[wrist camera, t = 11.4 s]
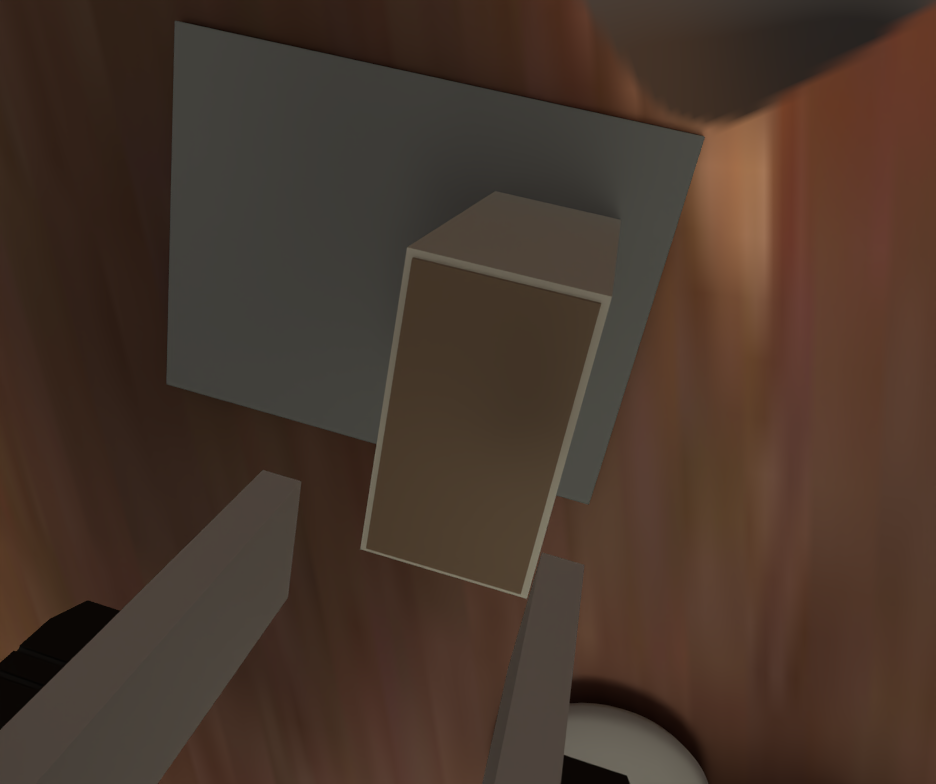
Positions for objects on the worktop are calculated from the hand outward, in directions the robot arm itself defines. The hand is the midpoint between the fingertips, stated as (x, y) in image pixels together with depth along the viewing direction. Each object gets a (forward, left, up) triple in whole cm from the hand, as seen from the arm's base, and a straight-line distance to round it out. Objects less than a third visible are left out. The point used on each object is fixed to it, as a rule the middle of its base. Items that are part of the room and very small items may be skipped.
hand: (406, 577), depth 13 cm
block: (0, 0, -18) cm, 18 cm away
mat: (-6, 0, -19) cm, 20 cm away
